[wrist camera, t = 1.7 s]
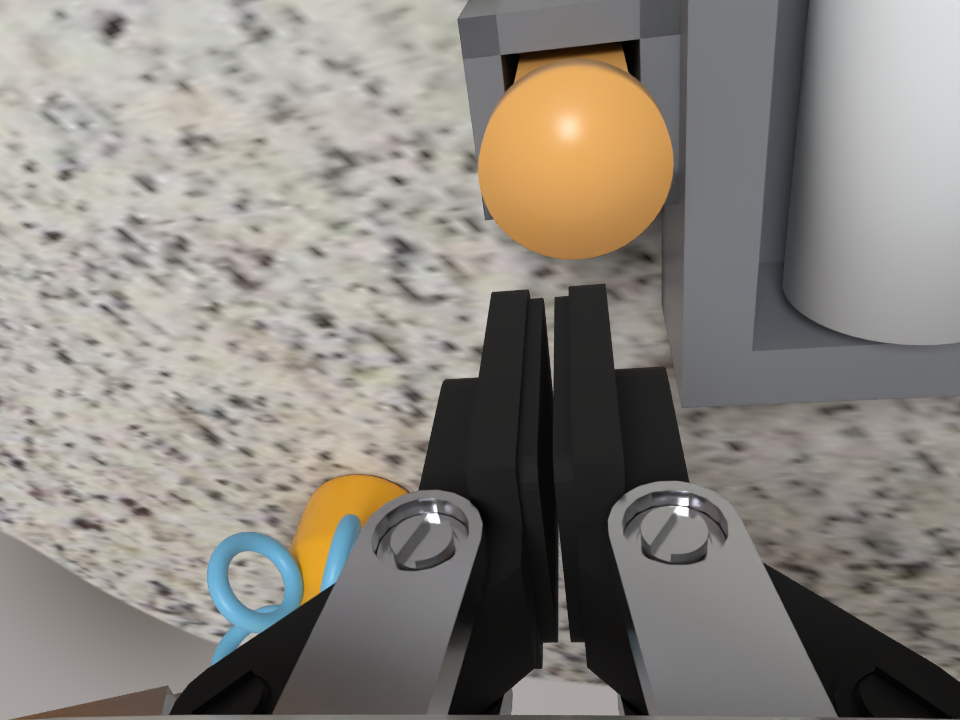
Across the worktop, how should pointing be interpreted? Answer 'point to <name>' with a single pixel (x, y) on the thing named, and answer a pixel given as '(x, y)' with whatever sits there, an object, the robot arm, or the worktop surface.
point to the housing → (715, 190)
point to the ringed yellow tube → (299, 553)
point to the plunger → (575, 153)
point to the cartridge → (878, 172)
